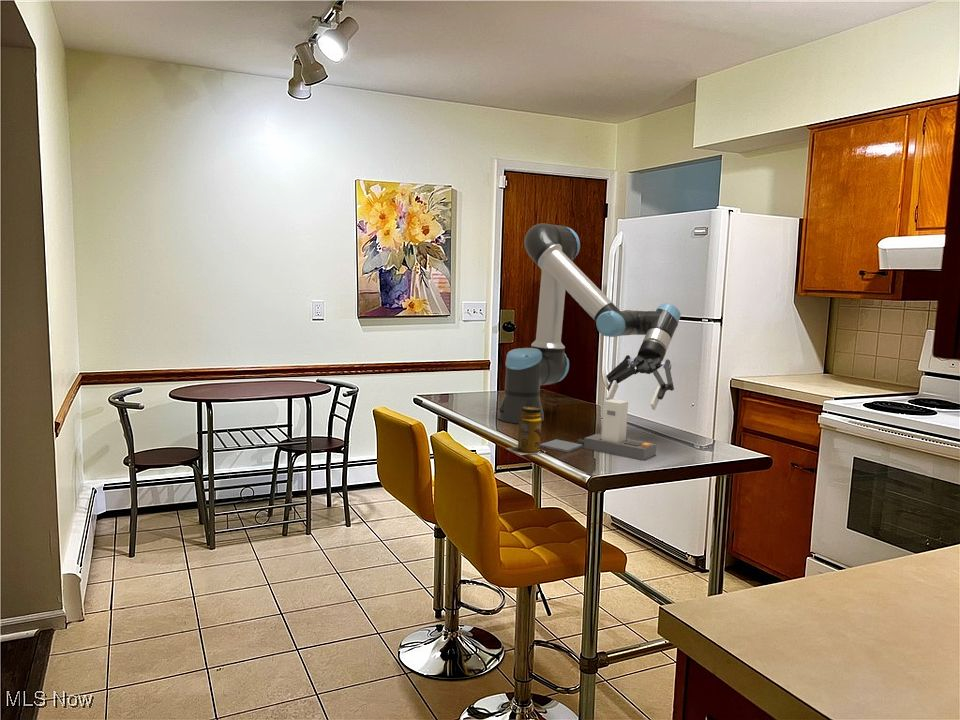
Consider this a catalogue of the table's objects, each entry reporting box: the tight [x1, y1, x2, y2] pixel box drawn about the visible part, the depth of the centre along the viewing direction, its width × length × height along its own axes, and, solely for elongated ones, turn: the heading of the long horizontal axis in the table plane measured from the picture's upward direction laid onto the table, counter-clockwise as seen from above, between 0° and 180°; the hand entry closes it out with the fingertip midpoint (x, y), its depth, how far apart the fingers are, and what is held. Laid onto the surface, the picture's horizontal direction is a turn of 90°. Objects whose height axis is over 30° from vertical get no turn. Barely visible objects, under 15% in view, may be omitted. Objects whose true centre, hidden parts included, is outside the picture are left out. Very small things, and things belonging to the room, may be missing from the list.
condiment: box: [505, 406, 546, 456], centre depth 195 cm, size 7×8×12 cm
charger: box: [601, 398, 629, 444], centre depth 200 cm, size 5×5×12 cm
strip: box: [576, 433, 657, 461], centre depth 201 cm, size 22×8×4 cm, turn 53°
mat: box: [540, 438, 584, 453], centre depth 202 cm, size 9×9×1 cm
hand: (630, 403), depth 203 cm, fingers open, 13 cm apart
